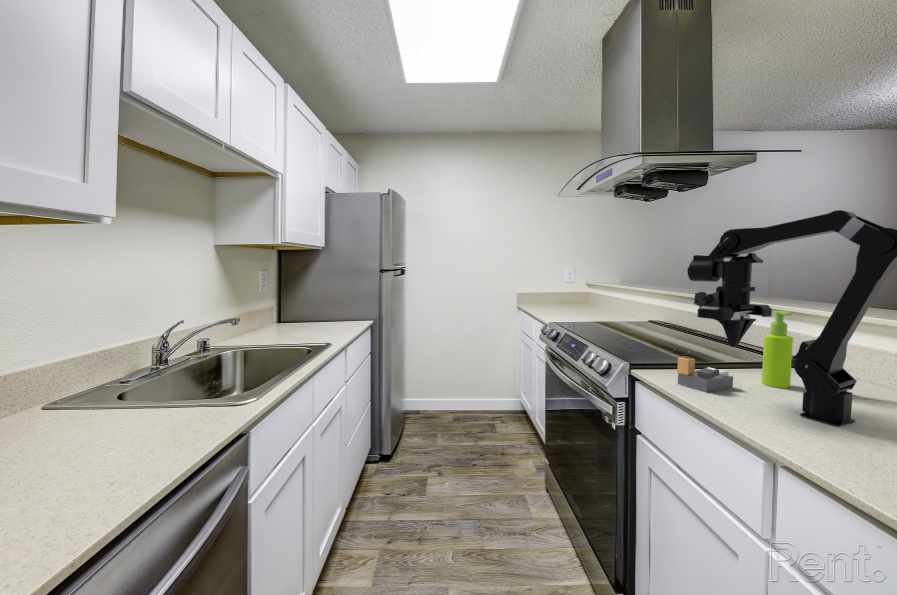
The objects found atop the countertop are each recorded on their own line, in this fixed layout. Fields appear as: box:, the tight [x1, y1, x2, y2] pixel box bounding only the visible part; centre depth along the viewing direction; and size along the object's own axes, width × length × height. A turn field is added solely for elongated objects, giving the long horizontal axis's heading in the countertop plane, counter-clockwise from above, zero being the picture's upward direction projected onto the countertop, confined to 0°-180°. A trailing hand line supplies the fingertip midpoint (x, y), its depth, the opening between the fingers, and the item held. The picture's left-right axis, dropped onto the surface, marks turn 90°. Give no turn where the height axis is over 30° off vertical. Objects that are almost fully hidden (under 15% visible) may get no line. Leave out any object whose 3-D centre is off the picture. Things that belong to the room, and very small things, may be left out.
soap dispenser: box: [761, 310, 794, 389], centre depth 107 cm, size 6×7×20 cm
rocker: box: [696, 366, 720, 379], centre depth 104 cm, size 3×4×2 cm
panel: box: [677, 369, 734, 393], centre depth 107 cm, size 8×10×4 cm
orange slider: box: [676, 355, 696, 375], centre depth 108 cm, size 3×2×4 cm
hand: (733, 346), depth 98 cm, fingers closed
